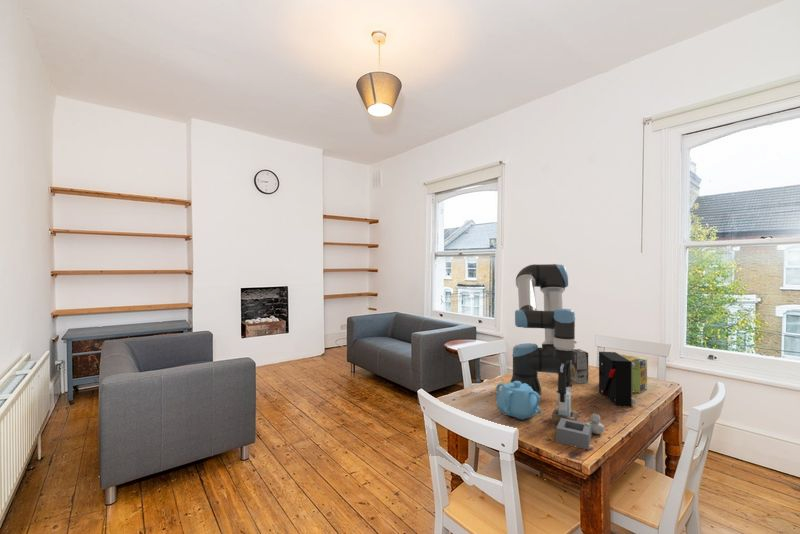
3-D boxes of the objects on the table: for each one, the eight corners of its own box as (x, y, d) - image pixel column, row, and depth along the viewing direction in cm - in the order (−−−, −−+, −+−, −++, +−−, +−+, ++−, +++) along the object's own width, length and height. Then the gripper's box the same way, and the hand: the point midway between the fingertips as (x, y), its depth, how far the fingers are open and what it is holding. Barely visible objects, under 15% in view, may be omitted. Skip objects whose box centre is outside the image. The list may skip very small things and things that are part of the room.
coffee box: (589, 383, 188) (588, 352, 188) (576, 383, 188) (576, 352, 188) (580, 377, 197) (580, 348, 197) (568, 377, 197) (568, 348, 197)
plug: (558, 423, 139) (557, 393, 139) (559, 420, 142) (559, 390, 142) (569, 426, 136) (569, 395, 137) (571, 422, 140) (570, 392, 140)
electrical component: (636, 407, 155) (636, 361, 155) (611, 405, 157) (611, 360, 157) (620, 393, 172) (620, 352, 172) (597, 392, 174) (597, 351, 175)
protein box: (640, 393, 172) (640, 361, 172) (606, 385, 184) (606, 355, 184) (647, 389, 178) (647, 358, 178) (614, 381, 190) (614, 352, 190)
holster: (551, 424, 138) (551, 414, 138) (555, 417, 145) (555, 407, 145) (574, 429, 134) (574, 419, 134) (577, 421, 140) (577, 411, 140)
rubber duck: (585, 433, 131) (585, 411, 131) (590, 427, 136) (590, 406, 136) (601, 437, 127) (601, 415, 127) (606, 431, 132) (606, 410, 132)
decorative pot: (500, 421, 141) (500, 387, 141) (494, 405, 157) (494, 375, 157) (542, 423, 139) (542, 389, 139) (532, 407, 155) (532, 376, 155)
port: (556, 442, 124) (556, 426, 124) (561, 431, 133) (561, 416, 133) (588, 450, 119) (588, 434, 119) (591, 438, 127) (591, 423, 127)
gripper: (571, 355, 129) (571, 417, 129) (578, 344, 146) (578, 400, 146) (549, 352, 133) (549, 413, 133) (558, 342, 150) (558, 396, 150)
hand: (564, 406), depth 139 cm, fingers open, 8 cm apart
